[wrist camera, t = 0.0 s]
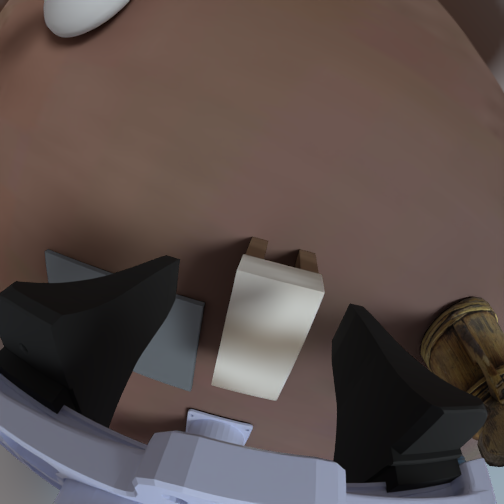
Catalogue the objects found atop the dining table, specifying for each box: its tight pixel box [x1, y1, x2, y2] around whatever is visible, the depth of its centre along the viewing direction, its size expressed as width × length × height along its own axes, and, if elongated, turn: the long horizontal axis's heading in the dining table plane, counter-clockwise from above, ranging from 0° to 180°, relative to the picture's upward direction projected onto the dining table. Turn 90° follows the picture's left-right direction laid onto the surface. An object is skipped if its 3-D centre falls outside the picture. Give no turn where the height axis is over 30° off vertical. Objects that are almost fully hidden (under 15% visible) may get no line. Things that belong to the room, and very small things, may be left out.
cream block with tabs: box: [211, 237, 325, 401], centre depth 20 cm, size 10×5×6 cm, turn 167°
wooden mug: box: [421, 297, 504, 467], centre depth 14 cm, size 9×14×18 cm, turn 39°
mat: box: [45, 249, 205, 391], centre depth 27 cm, size 18×12×1 cm, turn 77°
